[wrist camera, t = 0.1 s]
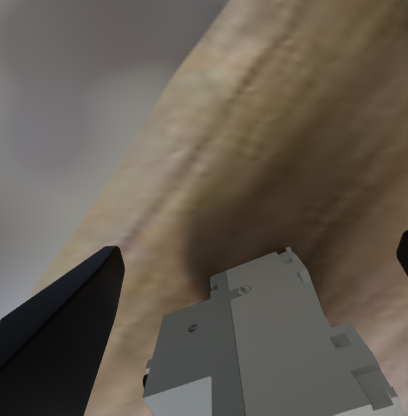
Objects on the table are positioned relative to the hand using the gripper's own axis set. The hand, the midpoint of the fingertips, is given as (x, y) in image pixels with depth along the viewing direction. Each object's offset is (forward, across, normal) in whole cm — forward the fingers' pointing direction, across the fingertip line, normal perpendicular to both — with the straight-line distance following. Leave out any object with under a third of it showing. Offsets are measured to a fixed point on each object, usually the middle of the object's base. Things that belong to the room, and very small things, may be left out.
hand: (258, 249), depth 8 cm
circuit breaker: (+12, 0, +16) cm, 20 cm away
